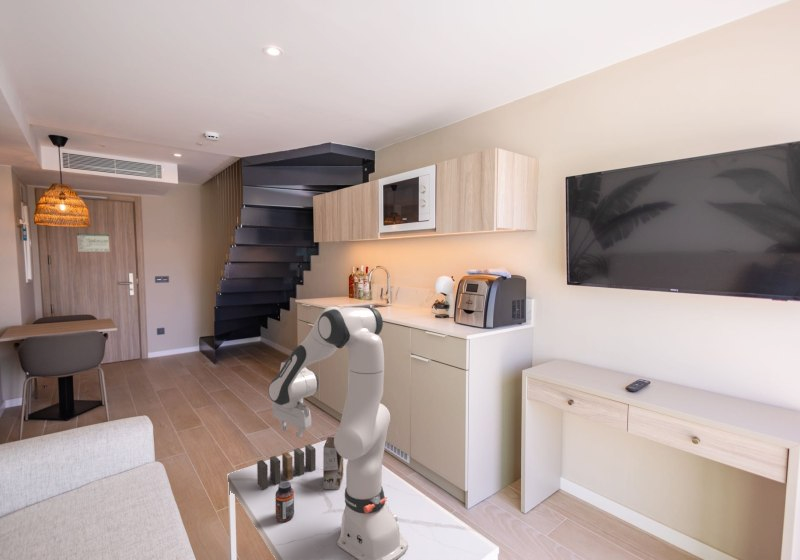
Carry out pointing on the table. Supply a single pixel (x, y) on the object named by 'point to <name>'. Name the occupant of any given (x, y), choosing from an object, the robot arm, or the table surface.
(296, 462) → the domino
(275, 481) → the domino
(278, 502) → the supplement bottle
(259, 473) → the domino
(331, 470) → the coffee box
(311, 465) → the domino
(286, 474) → the domino
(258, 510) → the table surface
